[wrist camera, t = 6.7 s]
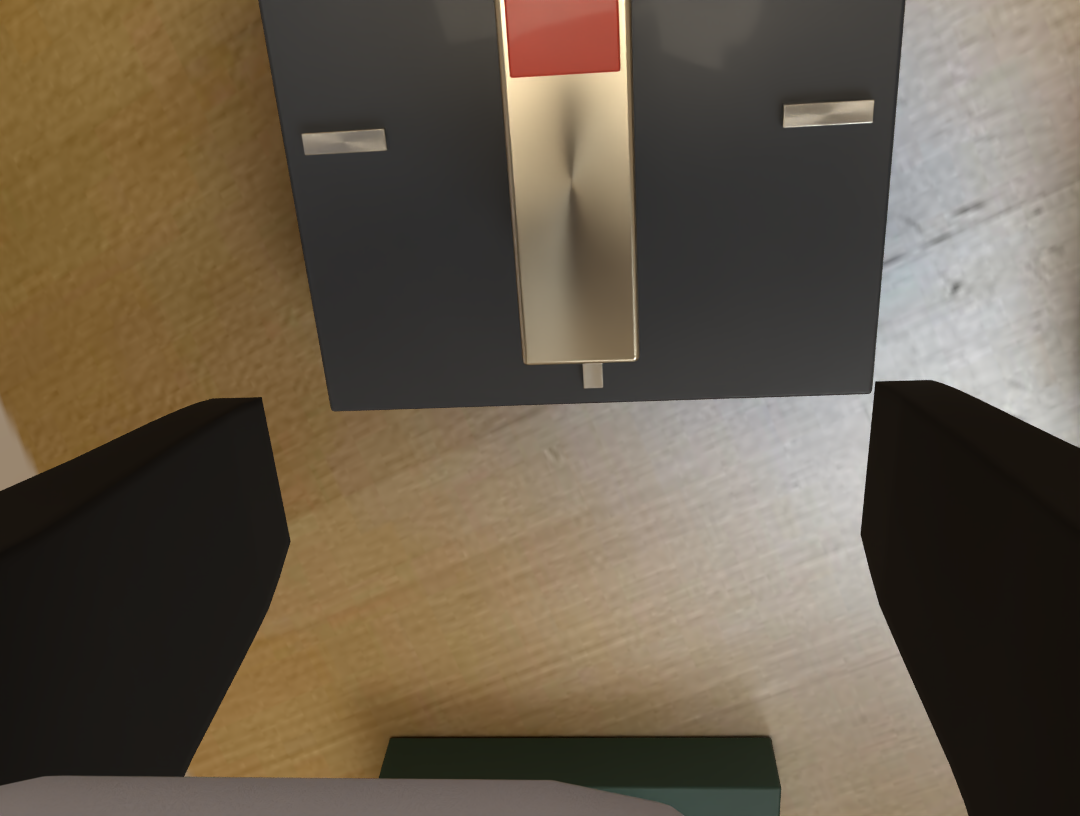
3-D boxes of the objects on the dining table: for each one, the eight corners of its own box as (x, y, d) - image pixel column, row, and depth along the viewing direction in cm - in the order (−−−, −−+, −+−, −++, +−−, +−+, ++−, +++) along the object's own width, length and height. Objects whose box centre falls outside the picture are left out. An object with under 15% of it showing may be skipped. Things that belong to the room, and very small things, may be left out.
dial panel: (366, 353, 21) (327, 417, 18) (283, -183, 17) (215, -208, 14) (838, 334, 20) (874, 399, 17) (876, -237, 16) (933, -275, 13)
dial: (634, 273, 17) (639, 371, 13) (541, 277, 17) (520, 375, 13) (626, -47, 15) (631, -43, 11) (520, -39, 15) (488, -33, 11)
